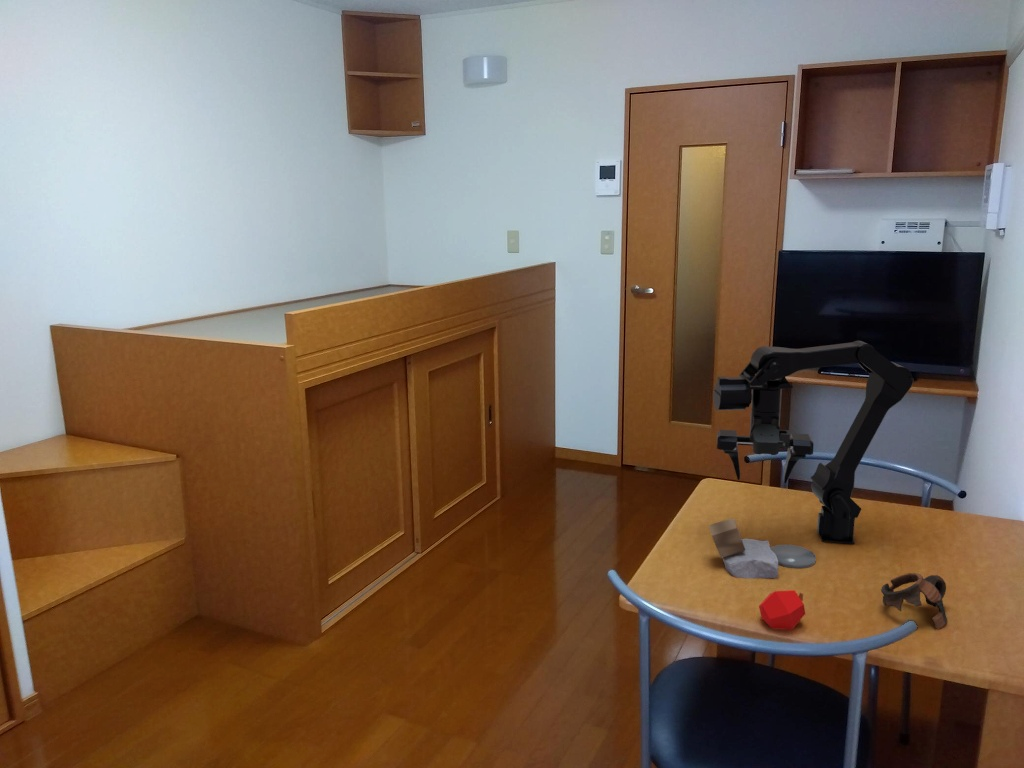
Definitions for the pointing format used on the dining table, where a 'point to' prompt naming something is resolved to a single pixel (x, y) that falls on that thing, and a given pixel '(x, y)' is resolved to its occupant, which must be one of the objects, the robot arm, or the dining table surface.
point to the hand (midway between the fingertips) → (761, 481)
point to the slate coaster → (794, 556)
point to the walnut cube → (727, 537)
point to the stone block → (753, 561)
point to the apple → (782, 609)
